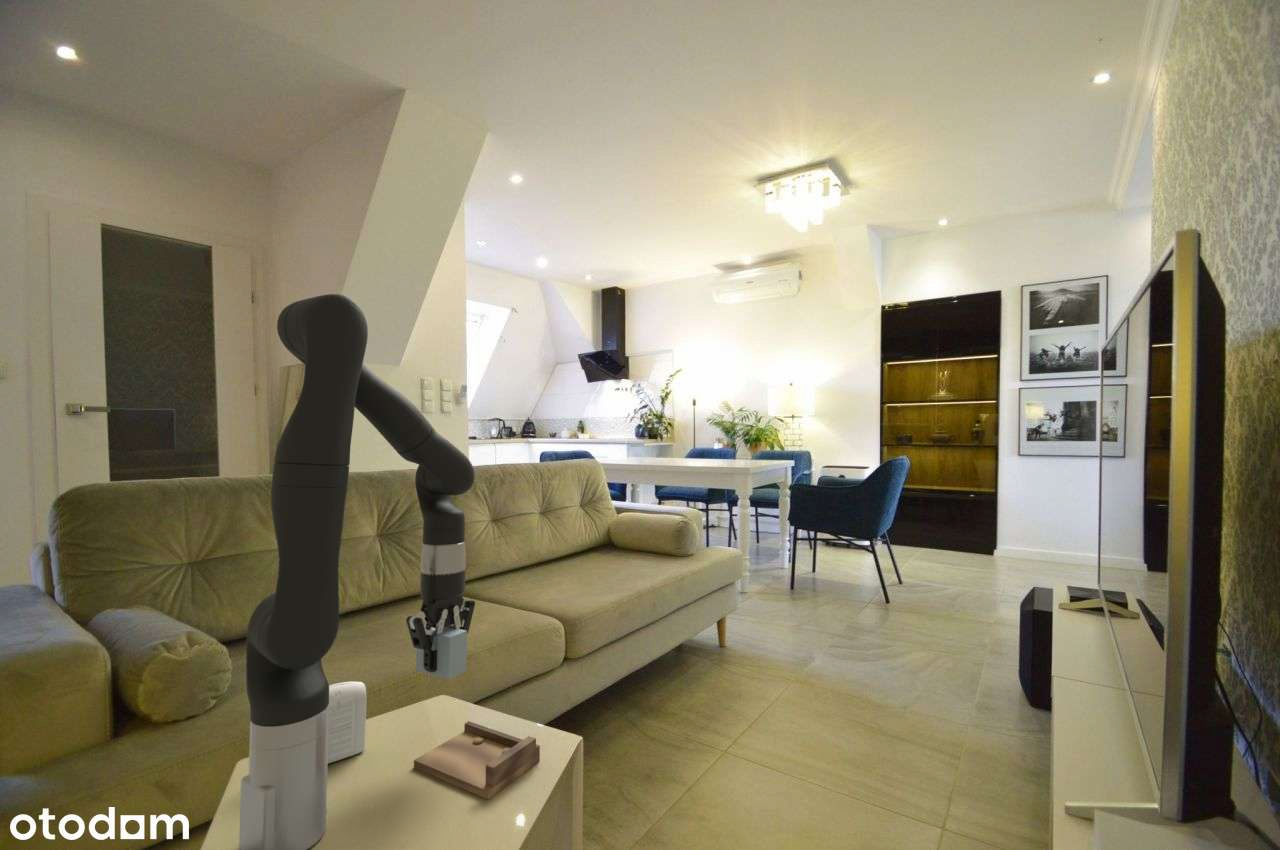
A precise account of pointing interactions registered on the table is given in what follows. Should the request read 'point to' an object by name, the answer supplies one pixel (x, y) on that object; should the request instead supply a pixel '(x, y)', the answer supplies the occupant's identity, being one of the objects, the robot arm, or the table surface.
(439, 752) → the board
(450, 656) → the tall pale blue block
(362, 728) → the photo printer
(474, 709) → the table surface
